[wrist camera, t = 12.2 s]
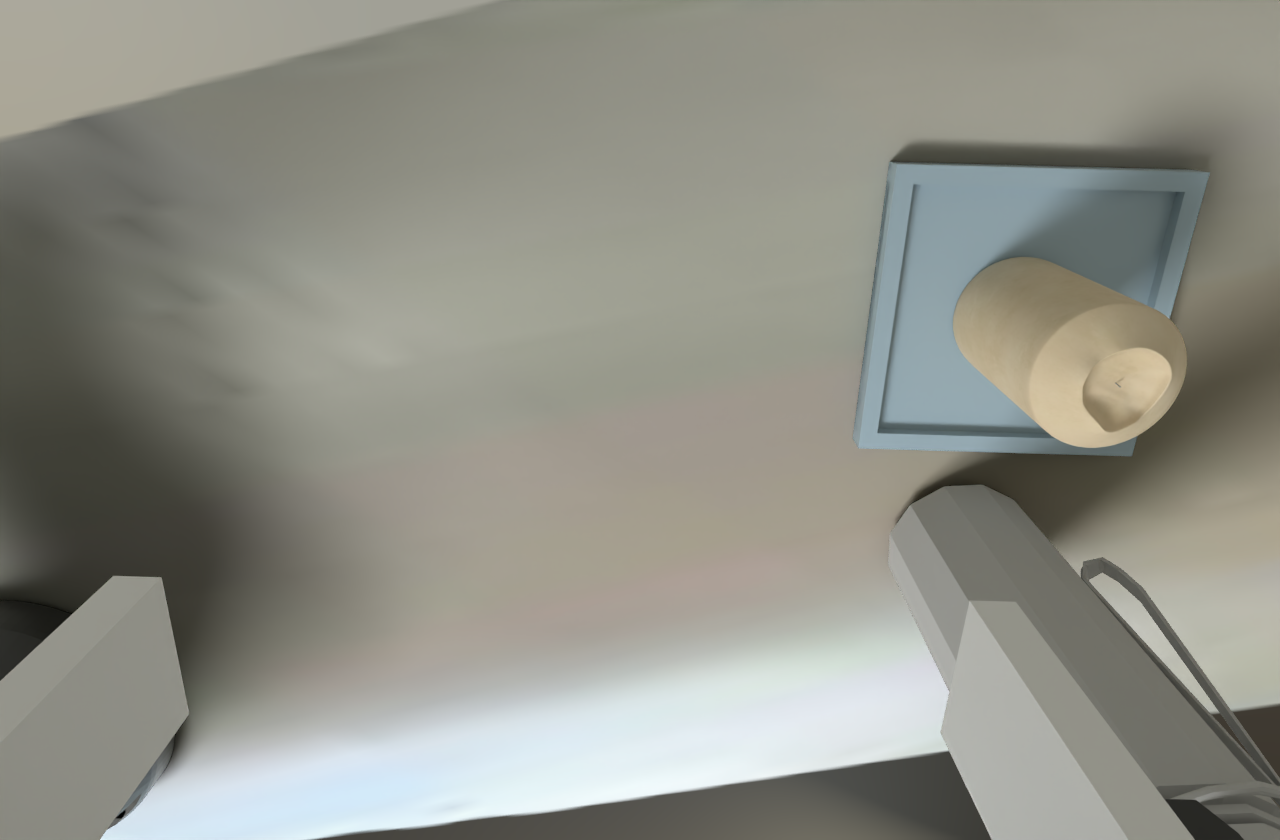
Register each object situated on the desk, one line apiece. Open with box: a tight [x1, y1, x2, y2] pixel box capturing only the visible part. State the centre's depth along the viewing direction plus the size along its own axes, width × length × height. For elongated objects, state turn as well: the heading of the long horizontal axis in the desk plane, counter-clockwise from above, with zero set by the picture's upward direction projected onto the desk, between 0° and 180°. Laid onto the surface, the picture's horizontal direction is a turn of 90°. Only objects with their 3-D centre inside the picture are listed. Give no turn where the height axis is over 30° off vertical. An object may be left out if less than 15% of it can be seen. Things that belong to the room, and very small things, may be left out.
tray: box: [853, 162, 1210, 456], centre depth 37 cm, size 13×13×1 cm
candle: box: [953, 257, 1187, 448], centre depth 33 cm, size 6×6×10 cm
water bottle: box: [888, 485, 1280, 840], centre depth 31 cm, size 9×8×25 cm
